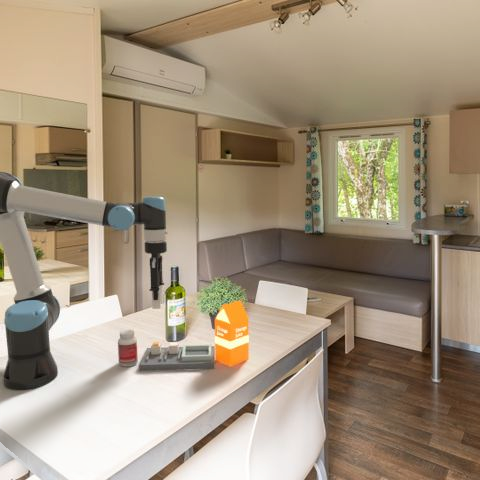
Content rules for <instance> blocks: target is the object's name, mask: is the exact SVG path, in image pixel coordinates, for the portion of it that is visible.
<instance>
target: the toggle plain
mask: <svg viewBox="0 0 480 480" xmlns="http://www.w3.org/2000/svg"><path fill="white" fill-rule="evenodd" d="M168 347H169V354H178V351H179V347H180V346H179V342H177V341H175V342H174V341H173V342H171V341H170V342H169V344H168Z"/></svg>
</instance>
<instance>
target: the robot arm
mask: <svg viewBox="0 0 480 480" xmlns="http://www.w3.org/2000/svg"><path fill="white" fill-rule="evenodd" d="M166 211H167V210H166V200H165V198H164V197H162V196H143V198H142V202H107V201H104V200H98V199H93V198H88V197H83V196H77V195H72V194H68V193H67V194H66V193H62V192H56V191H51V190H46V189H41V188H36V187H31V186H26V185H23V182H21V180H20V179H19V178H18V177H17V176H15V175H13V174H11V173H8V172H5V171H0V245H1V248H2V251H3V253H4V257H5V260H6V262H7V266H8V268H9V269H8V270H9V272H10V276H11V278H12V282H13V285H14V287H15V291H16V294H15V295H14V296H13V302H14V303H13V304H12V305H10V306H9V307H7V308H6V310H5V312H4V321H3V322H4V326H5V335H6V337H5V338H6V345H7V346H6V347H7V349H6V350H7V357H8V358H7V362H6V366H5V369H4V373H3V386H4V387H5V388H7V389H9V390H16V391H17V390H30V389H35V388H39V387H42V386H45V385H46V384H50V383H51V382H52V381H53V380H55V379H56V378H57V377H58V374H59V371H58V370H59V369H58V366H57V363H56V361H55V359H54V356H53V354H52V352H51V345H50V344H51V343H50V331H51V329H52V327H54V325H55V324H56V323H57V321H58V320H59V317H60V313H61V305H60V302H59V301H60V300H58V298H57V296H55V295H54V294H53V292H52V287H50V286H49V285H47V284H45V282H44V278H43V275H42V272H41V268H40V266H39V262H38V259H37V256H36V252H35V249H34V246H33V243H32V240H31V237H30V234H29V230H28V227H27V224H26V221H25V217H24V214H25V213H29V214H35V215H39V216H46V217H51V218H57V219H63V220H69V221H74V222H80V223H85V224H91V225H97V226H103V227H106V228H112V229H115V230H117V231H126V230H128V229H129V228H131V227H132V226H135V225H136V226H137V225H140V226H142V225H143V241H145V242H144V253H146V254H151V257H150V258H149V269H150V271H149V272H150V274H149V275H150V276H149V277H150V288H149V291H150V292H151V304H152V306H151V307H152V310H160V309H161V305H162V304H164V303H163V298H164V297H163V286H164V285H165V282H164V279H163V255H161V254H164V253H166V252H167V235H168V234H169V232H168V231H167V221H166V219H167V218H166V217H167V213H166Z"/></svg>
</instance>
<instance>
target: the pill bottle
mask: <svg viewBox="0 0 480 480" xmlns="http://www.w3.org/2000/svg"><path fill="white" fill-rule="evenodd" d="M117 350H118V352H117V355H118V356H117V357H118V364H119V366H121V367H125V368H128V367H129V368H130V367H134V366H135V365H137V363H139V362H138V361H139V360H138V357H139V356H138V340H137V338H136V337H135V331H134V330H132V329H123V330H121V331H120V332H119V338H118V340H117Z"/></svg>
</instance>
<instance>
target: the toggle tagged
mask: <svg viewBox="0 0 480 480" xmlns="http://www.w3.org/2000/svg"><path fill="white" fill-rule="evenodd" d="M150 348H151V355H159V354H160V353H161V348H162V343H161V342H159V341H157V342H155V341H153V342H152V343H151V345H150Z"/></svg>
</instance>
